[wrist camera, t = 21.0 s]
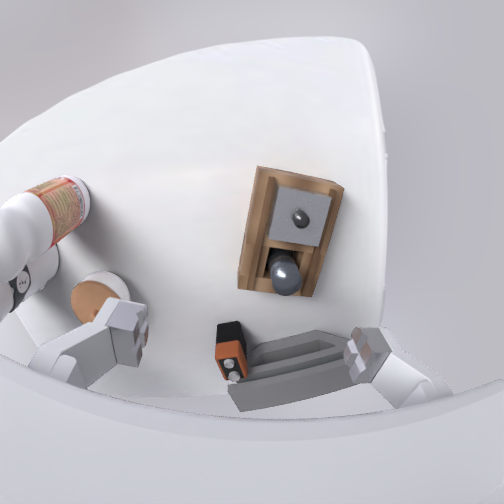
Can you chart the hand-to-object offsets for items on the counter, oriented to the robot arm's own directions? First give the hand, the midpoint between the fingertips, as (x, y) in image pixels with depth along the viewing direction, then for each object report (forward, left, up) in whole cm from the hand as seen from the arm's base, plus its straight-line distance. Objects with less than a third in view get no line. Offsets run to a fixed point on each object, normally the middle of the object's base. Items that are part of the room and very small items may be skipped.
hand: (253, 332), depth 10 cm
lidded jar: (-21, -23, -33) cm, 46 cm away
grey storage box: (+16, -33, -33) cm, 49 cm away
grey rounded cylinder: (+8, -11, -33) cm, 36 cm away
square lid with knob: (+8, -3, -28) cm, 29 cm away
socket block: (+8, -7, -33) cm, 35 cm away
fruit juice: (-29, -7, -33) cm, 45 cm away
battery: (+3, -30, -33) cm, 45 cm away
